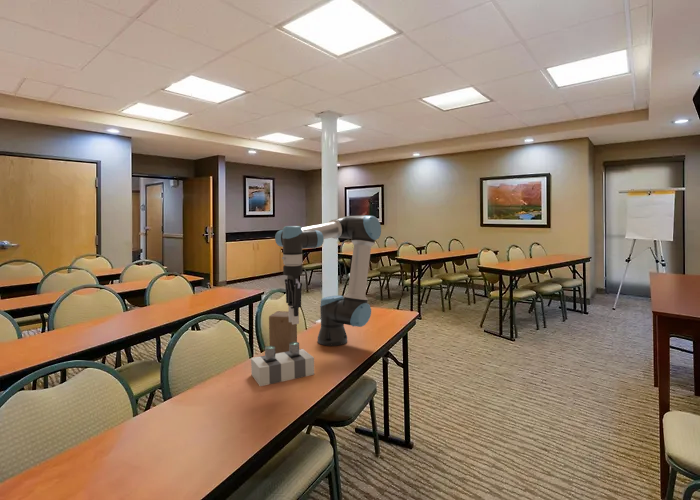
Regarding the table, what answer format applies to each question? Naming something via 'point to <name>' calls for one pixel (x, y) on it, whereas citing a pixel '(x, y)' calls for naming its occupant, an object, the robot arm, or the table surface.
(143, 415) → the table surface
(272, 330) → the wooden block
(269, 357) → the peg
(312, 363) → the socket board
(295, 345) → the peg
